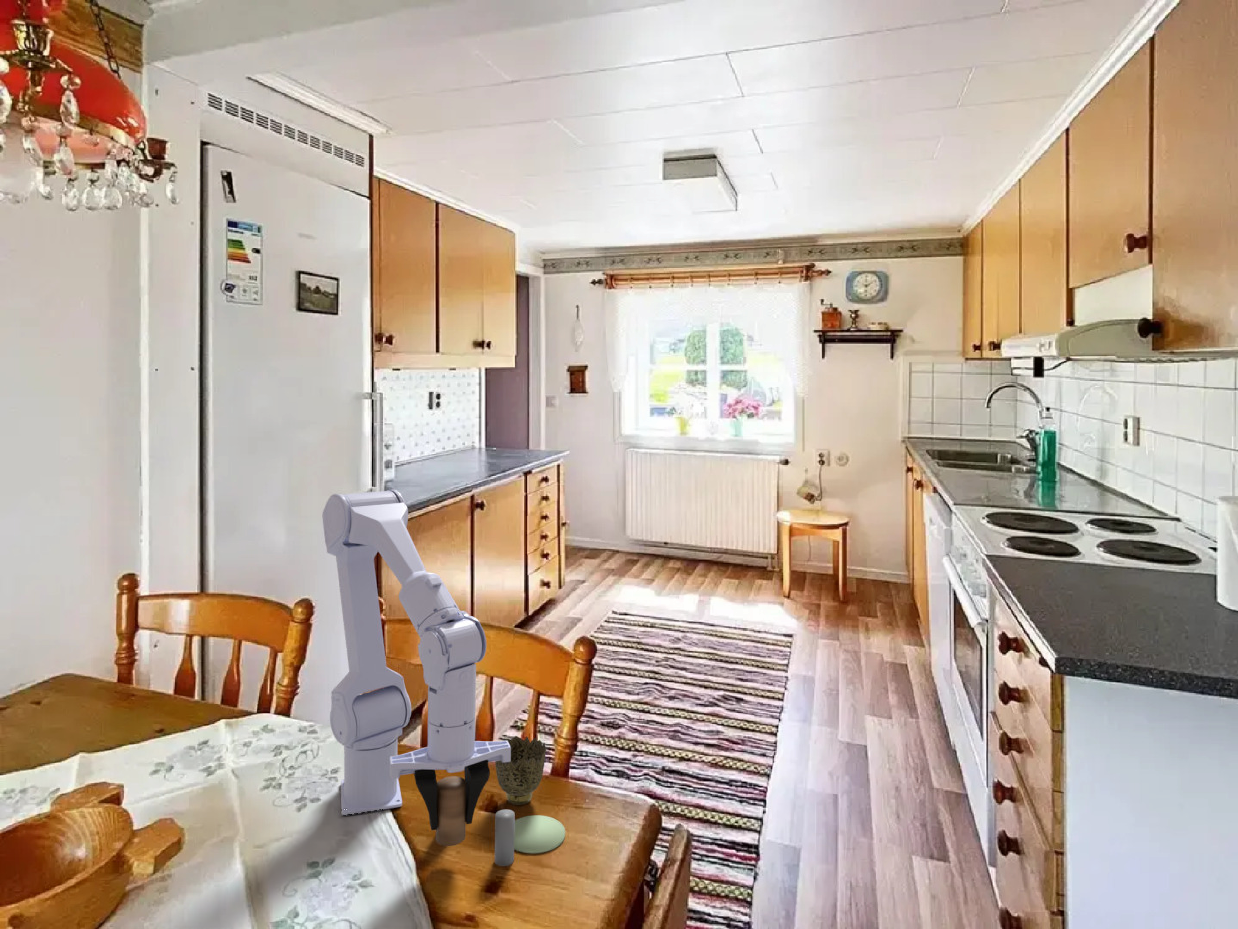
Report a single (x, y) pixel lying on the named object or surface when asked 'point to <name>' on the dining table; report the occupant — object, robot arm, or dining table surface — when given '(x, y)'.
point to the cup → (521, 769)
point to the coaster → (537, 834)
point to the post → (504, 837)
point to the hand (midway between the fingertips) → (450, 822)
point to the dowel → (451, 811)
